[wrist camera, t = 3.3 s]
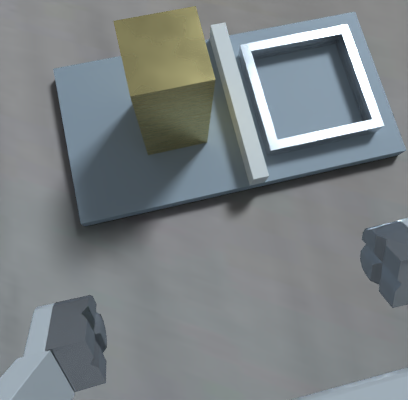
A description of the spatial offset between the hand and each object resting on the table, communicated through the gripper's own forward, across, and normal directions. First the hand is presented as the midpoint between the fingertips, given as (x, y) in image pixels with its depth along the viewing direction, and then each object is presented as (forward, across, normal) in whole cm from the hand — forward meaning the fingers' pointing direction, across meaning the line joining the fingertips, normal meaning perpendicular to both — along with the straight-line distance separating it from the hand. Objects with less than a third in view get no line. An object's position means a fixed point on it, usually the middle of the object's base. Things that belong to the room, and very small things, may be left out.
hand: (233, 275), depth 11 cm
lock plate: (+17, -4, +2) cm, 18 cm away
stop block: (+17, 0, +1) cm, 17 cm away
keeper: (+17, -9, +1) cm, 19 cm away
